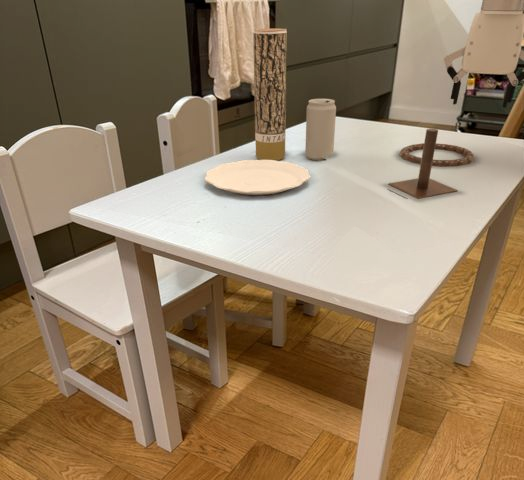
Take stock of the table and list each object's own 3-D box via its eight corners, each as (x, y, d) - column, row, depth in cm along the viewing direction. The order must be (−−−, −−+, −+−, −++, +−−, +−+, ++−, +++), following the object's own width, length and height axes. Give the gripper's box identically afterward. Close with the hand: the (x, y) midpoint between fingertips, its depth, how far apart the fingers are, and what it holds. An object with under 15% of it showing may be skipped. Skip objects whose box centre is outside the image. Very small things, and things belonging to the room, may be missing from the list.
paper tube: (250, 156, 116) (247, 29, 102) (276, 152, 119) (276, 28, 104) (264, 163, 112) (262, 31, 97) (290, 159, 114) (293, 29, 99)
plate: (239, 162, 112) (239, 155, 111) (325, 175, 104) (325, 166, 103) (185, 189, 98) (184, 181, 97) (280, 206, 89) (280, 197, 88)
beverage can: (329, 162, 112) (333, 103, 105) (301, 160, 113) (303, 102, 106) (335, 155, 116) (339, 98, 109) (308, 153, 118) (310, 97, 111)
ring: (439, 148, 120) (441, 139, 119) (489, 165, 109) (491, 155, 107) (384, 156, 115) (385, 147, 114) (431, 175, 103) (432, 165, 102)
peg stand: (424, 183, 99) (435, 122, 93) (456, 196, 93) (470, 132, 86) (387, 189, 96) (395, 127, 90) (417, 204, 90) (428, 138, 83)
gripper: (551, 4, 94) (522, 104, 104) (455, 3, 98) (436, 99, 108) (556, 6, 88) (525, 111, 98) (454, 4, 92) (434, 105, 103)
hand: (478, 104), depth 103 cm, fingers open, 9 cm apart
